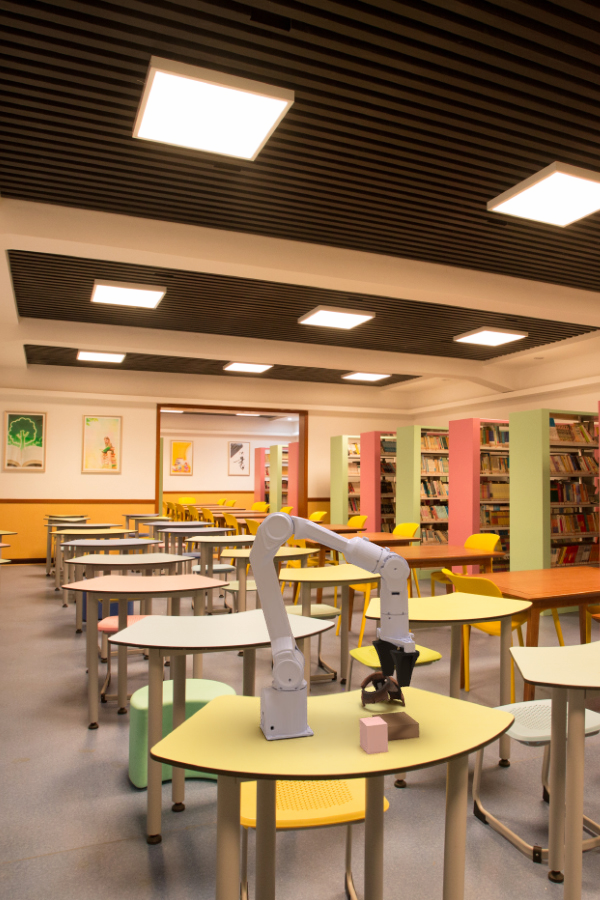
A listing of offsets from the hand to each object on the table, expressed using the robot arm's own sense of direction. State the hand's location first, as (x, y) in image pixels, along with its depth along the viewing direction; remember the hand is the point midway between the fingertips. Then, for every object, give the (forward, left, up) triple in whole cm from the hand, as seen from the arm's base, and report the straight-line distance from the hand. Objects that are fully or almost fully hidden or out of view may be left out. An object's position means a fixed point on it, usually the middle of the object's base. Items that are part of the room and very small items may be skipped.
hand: (395, 681), depth 119 cm
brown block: (-1, -1, -10) cm, 10 cm away
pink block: (-8, -7, -10) cm, 14 cm away
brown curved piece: (+3, +16, -10) cm, 19 cm away
